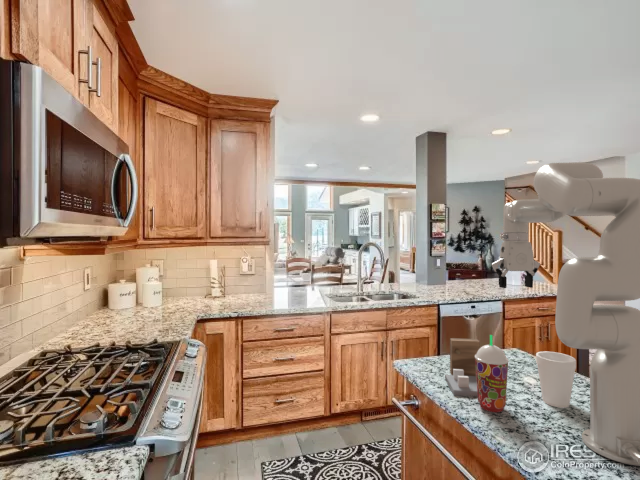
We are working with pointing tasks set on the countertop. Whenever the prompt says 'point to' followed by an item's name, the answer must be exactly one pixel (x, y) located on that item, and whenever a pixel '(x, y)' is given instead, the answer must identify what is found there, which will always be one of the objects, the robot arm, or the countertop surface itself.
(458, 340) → the door
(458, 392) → the hinge base
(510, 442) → the countertop surface
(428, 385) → the countertop surface
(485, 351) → the smoothie
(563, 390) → the foam cup
